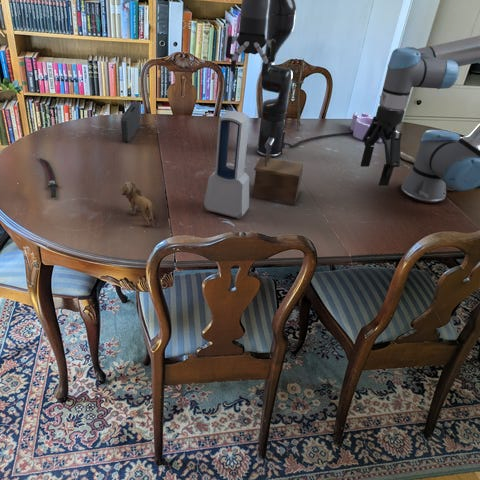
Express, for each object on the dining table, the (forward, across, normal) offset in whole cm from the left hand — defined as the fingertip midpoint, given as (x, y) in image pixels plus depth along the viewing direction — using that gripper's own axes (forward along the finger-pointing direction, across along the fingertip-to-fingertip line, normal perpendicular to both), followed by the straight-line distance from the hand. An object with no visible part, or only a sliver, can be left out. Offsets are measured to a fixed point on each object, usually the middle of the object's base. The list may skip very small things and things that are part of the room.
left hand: (248, 74), depth 138 cm
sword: (+37, -62, -4) cm, 72 cm away
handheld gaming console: (+37, -43, +41) cm, 70 cm away
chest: (+37, +13, -4) cm, 39 cm away
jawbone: (+37, +74, +41) cm, 92 cm away
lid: (+27, +13, -4) cm, 30 cm away
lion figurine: (+37, -29, -25) cm, 53 cm away
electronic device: (+37, -4, -18) cm, 41 cm away
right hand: (+24, +41, -12) cm, 49 cm away
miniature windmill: (+37, +25, +66) cm, 80 cm away
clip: (+37, +59, +64) cm, 95 cm away
